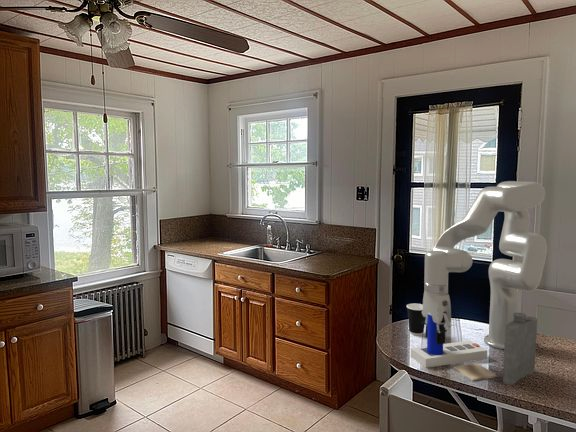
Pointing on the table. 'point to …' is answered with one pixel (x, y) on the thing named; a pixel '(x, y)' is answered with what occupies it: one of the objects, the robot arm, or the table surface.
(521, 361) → the hip flask
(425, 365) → the power strip
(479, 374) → the coaster pad
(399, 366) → the table surface
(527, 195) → the robot arm
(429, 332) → the beverage can
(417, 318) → the dixie cup
